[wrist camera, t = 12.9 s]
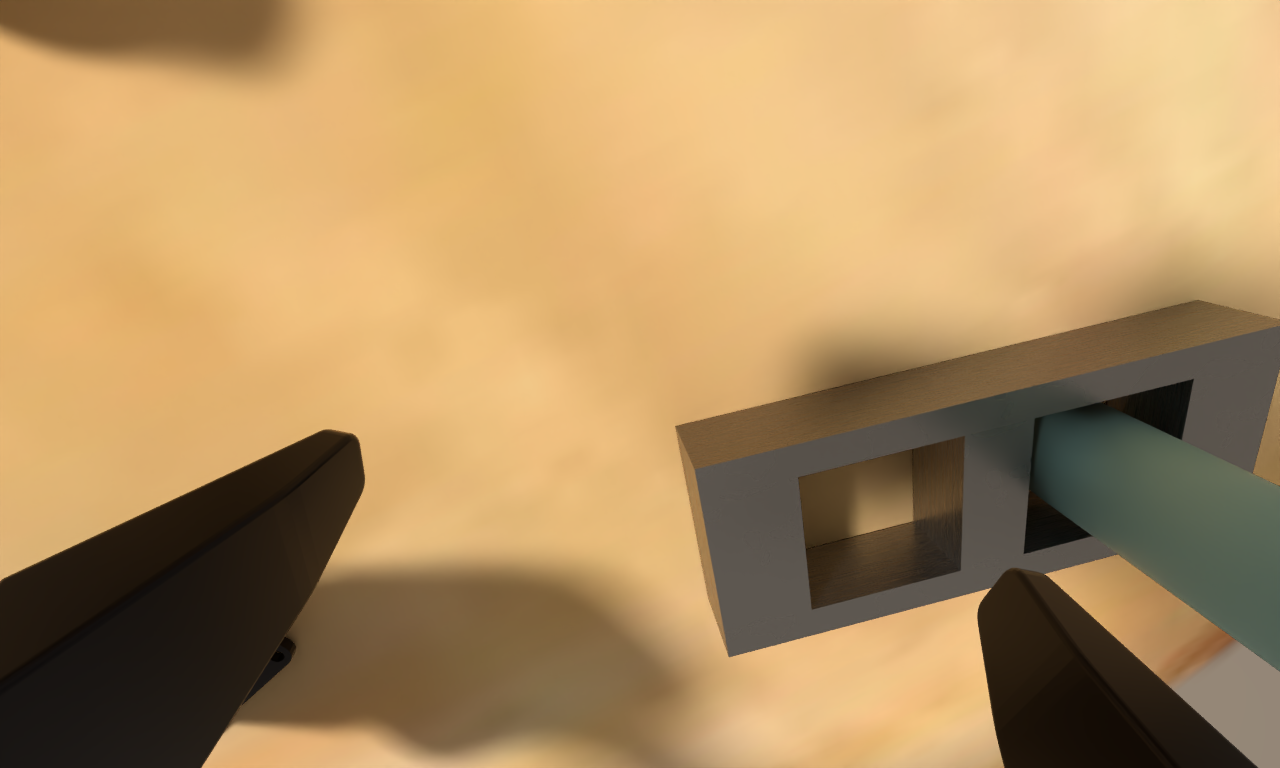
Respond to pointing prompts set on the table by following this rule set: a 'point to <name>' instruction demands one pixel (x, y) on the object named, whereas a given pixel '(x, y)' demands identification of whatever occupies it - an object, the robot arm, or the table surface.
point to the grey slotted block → (953, 465)
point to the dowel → (1169, 515)
